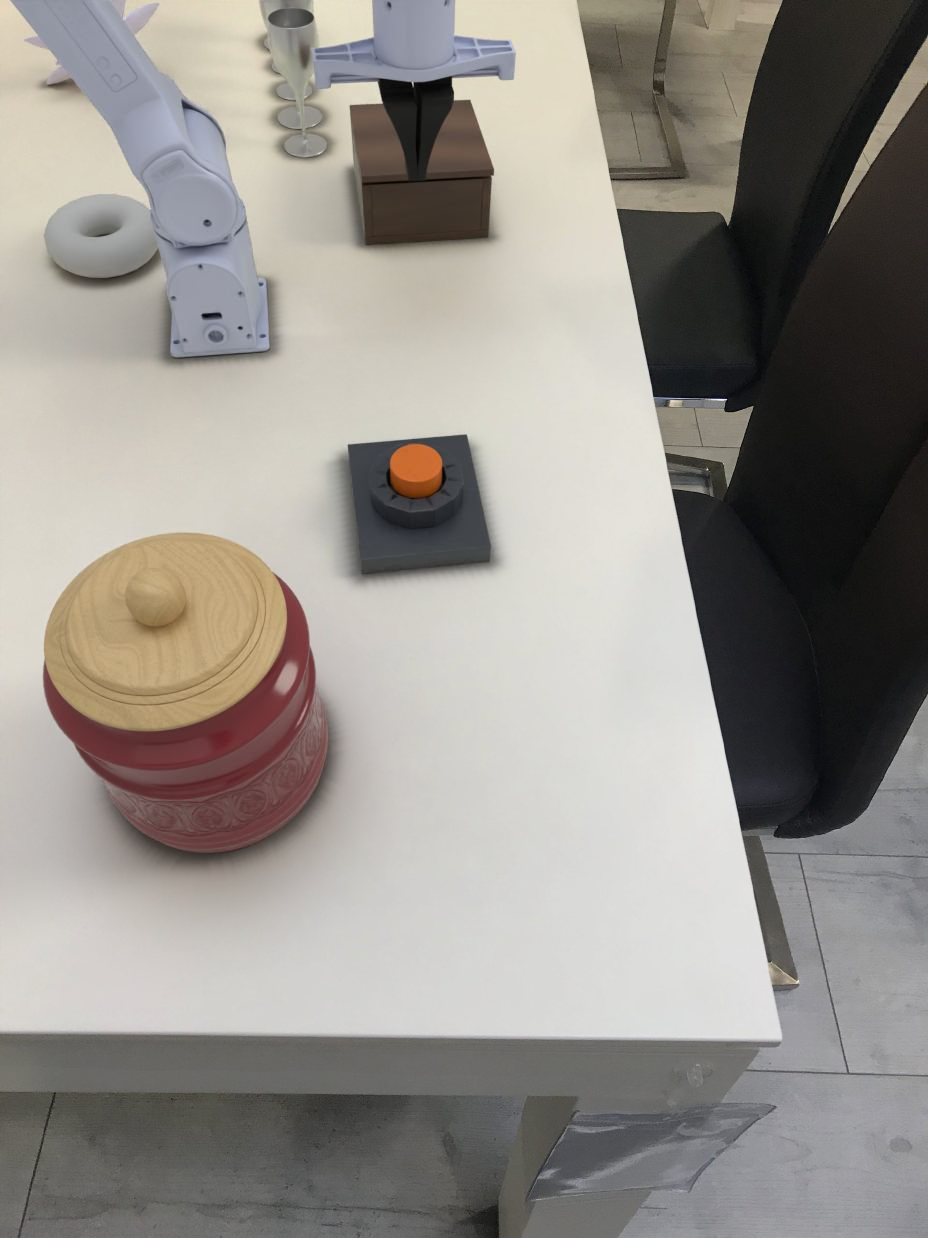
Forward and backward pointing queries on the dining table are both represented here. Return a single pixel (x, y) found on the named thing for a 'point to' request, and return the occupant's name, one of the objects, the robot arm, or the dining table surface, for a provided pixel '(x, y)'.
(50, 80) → the water lily
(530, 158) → the dining table surface
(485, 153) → the lid
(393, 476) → the button
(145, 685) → the kitchen canister
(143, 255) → the donut
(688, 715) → the dining table surface
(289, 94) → the goblet set
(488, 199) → the brown wooden box
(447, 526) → the control block
